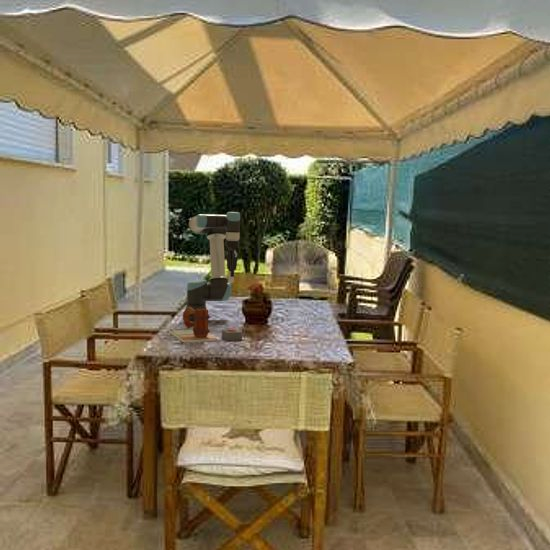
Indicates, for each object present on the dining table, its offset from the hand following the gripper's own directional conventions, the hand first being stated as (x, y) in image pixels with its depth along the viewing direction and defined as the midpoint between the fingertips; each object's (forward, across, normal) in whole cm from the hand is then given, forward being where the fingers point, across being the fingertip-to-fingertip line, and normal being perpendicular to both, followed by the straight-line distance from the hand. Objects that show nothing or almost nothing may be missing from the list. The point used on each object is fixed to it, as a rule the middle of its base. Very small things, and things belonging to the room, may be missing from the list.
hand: (231, 282), depth 353 cm
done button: (+25, +23, -8) cm, 35 cm away
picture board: (+26, +14, -26) cm, 39 cm away
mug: (+25, +18, -26) cm, 41 cm away
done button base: (+26, +23, -8) cm, 36 cm away
